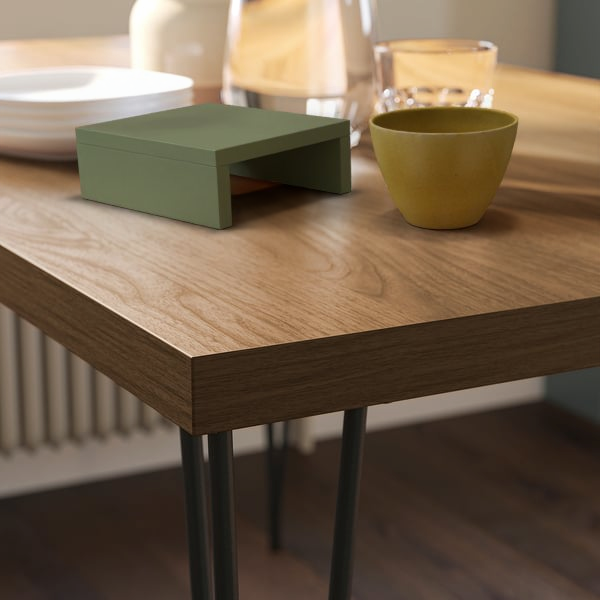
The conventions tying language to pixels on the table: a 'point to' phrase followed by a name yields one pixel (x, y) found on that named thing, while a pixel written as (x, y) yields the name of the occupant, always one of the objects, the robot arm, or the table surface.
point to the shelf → (208, 158)
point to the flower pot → (443, 161)
